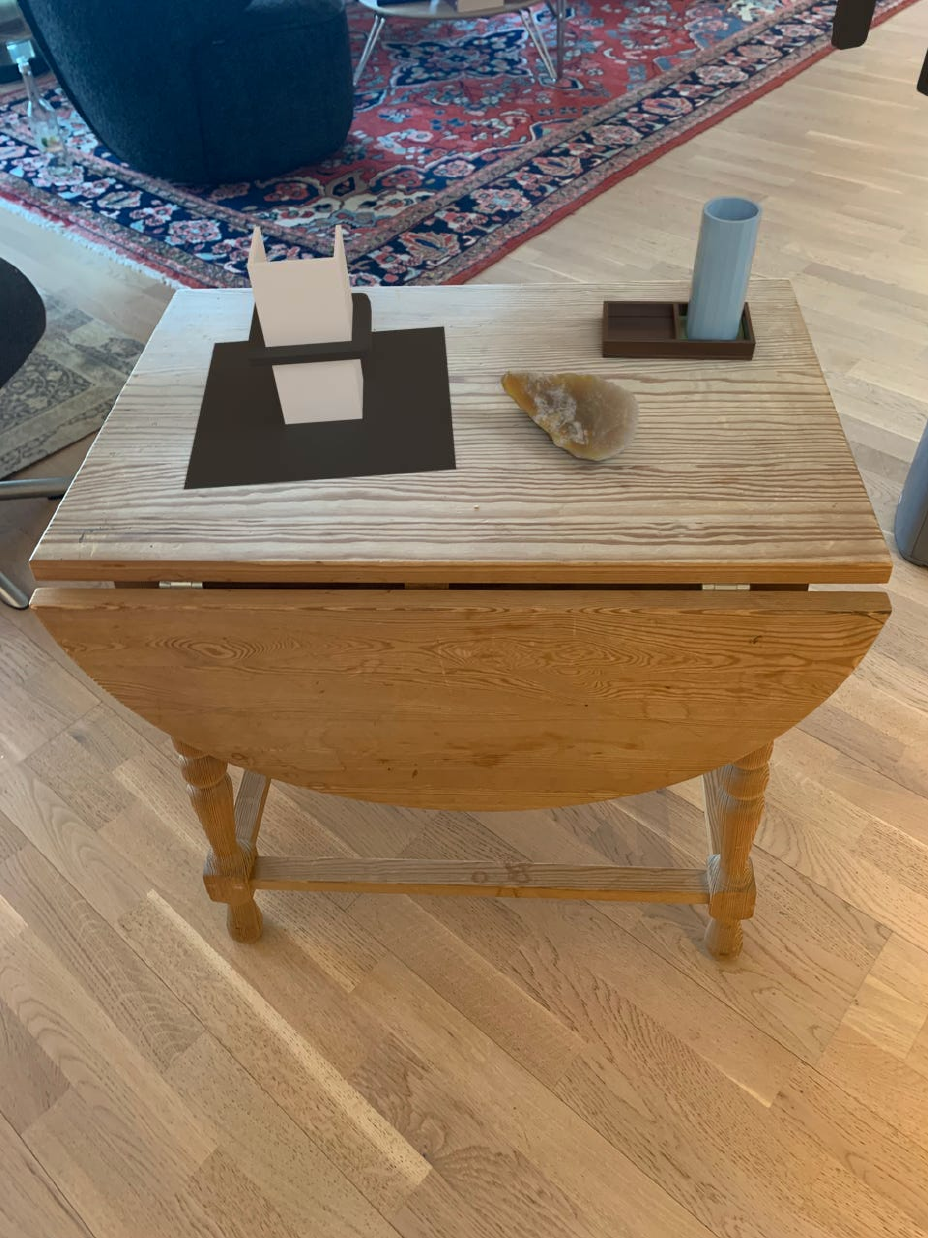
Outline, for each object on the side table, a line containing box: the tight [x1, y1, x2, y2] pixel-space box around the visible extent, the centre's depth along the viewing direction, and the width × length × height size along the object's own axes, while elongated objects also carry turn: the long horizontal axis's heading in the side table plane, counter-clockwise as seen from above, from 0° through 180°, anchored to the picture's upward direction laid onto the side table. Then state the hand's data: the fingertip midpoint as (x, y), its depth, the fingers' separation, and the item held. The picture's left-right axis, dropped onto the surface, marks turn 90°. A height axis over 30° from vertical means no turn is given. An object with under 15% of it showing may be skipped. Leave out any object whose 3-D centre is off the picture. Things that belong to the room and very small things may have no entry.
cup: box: [685, 195, 764, 340], centre depth 92 cm, size 5×5×13 cm
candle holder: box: [183, 224, 457, 490], centre depth 86 cm, size 25×24×16 cm
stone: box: [500, 369, 640, 462], centre depth 85 cm, size 7×6×15 cm
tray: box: [601, 300, 757, 361], centre depth 96 cm, size 8×15×2 cm, turn 84°
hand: (888, 68), depth 56 cm, fingers open, 8 cm apart
